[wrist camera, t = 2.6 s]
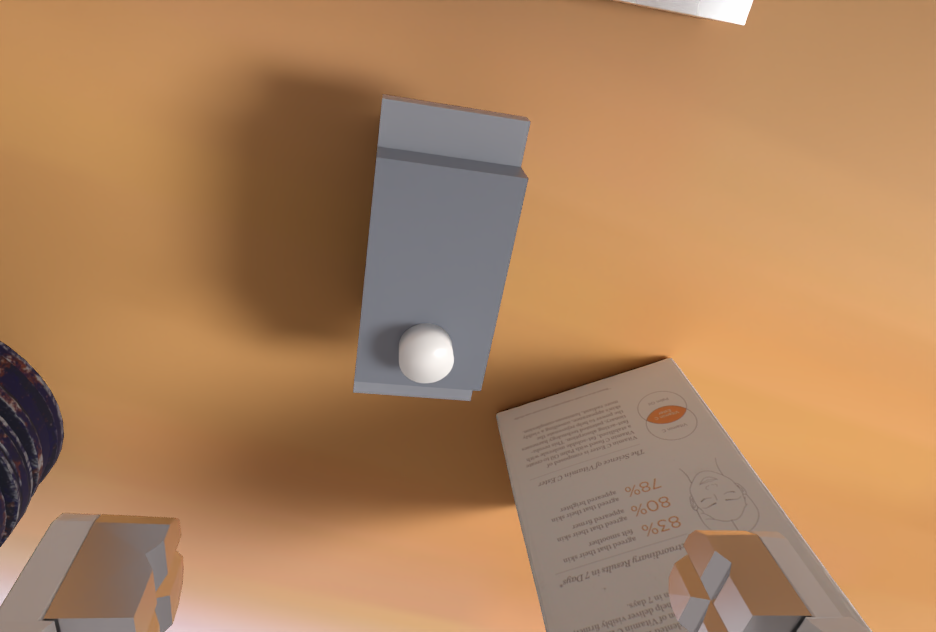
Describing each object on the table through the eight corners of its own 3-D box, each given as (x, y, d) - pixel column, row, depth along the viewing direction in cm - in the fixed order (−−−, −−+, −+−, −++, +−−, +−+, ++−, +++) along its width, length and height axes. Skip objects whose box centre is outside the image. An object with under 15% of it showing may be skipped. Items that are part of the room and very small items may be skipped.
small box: (528, 506, 29) (613, 841, 18) (492, 410, 26) (567, 744, 15) (691, 456, 29) (882, 769, 18) (674, 352, 26) (894, 652, 14)
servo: (507, 95, 20) (545, 138, 15) (459, 341, 24) (477, 437, 19) (384, 75, 19) (381, 113, 14) (358, 331, 24) (349, 429, 19)
